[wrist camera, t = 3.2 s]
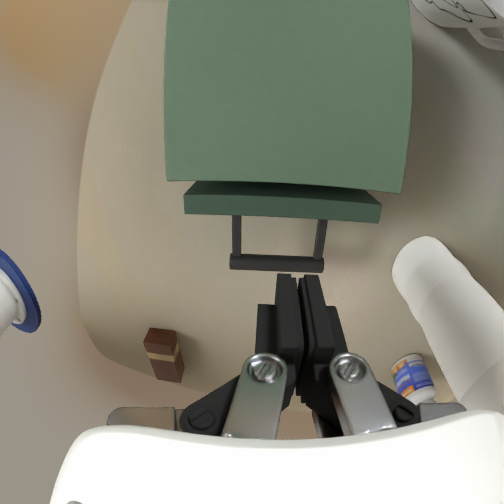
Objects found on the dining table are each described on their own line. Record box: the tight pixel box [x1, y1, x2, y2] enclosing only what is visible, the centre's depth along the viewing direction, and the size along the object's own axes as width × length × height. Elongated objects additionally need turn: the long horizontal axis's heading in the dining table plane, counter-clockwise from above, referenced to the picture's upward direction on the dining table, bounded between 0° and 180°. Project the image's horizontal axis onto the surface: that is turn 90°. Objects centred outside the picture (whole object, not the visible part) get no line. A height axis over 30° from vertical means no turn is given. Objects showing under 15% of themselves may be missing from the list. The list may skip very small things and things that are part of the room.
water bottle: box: [392, 236, 504, 415], centre depth 15 cm, size 7×7×25 cm
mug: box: [411, 0, 504, 51], centre depth 8 cm, size 11×8×10 cm
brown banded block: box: [143, 328, 184, 383], centre depth 33 cm, size 4×8×3 cm, turn 179°
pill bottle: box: [391, 354, 436, 405], centre depth 30 cm, size 5×5×10 cm
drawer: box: [183, 181, 382, 273], centre depth 17 cm, size 19×11×8 cm, turn 179°
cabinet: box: [164, 0, 413, 194], centre depth 14 cm, size 15×13×10 cm
